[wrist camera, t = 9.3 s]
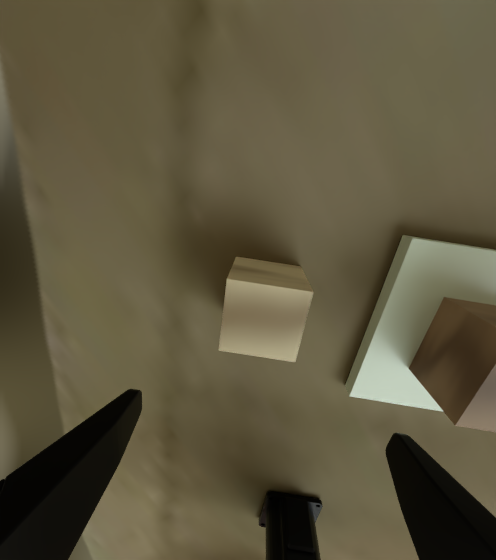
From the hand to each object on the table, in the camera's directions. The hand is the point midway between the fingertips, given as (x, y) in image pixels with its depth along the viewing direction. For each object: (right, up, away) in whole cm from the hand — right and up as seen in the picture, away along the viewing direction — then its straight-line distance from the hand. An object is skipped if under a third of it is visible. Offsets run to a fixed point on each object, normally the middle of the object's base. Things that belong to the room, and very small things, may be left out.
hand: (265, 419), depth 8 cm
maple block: (+1, +4, +11) cm, 11 cm away
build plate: (+16, +1, +11) cm, 20 cm away
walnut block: (+16, 0, +10) cm, 19 cm away
